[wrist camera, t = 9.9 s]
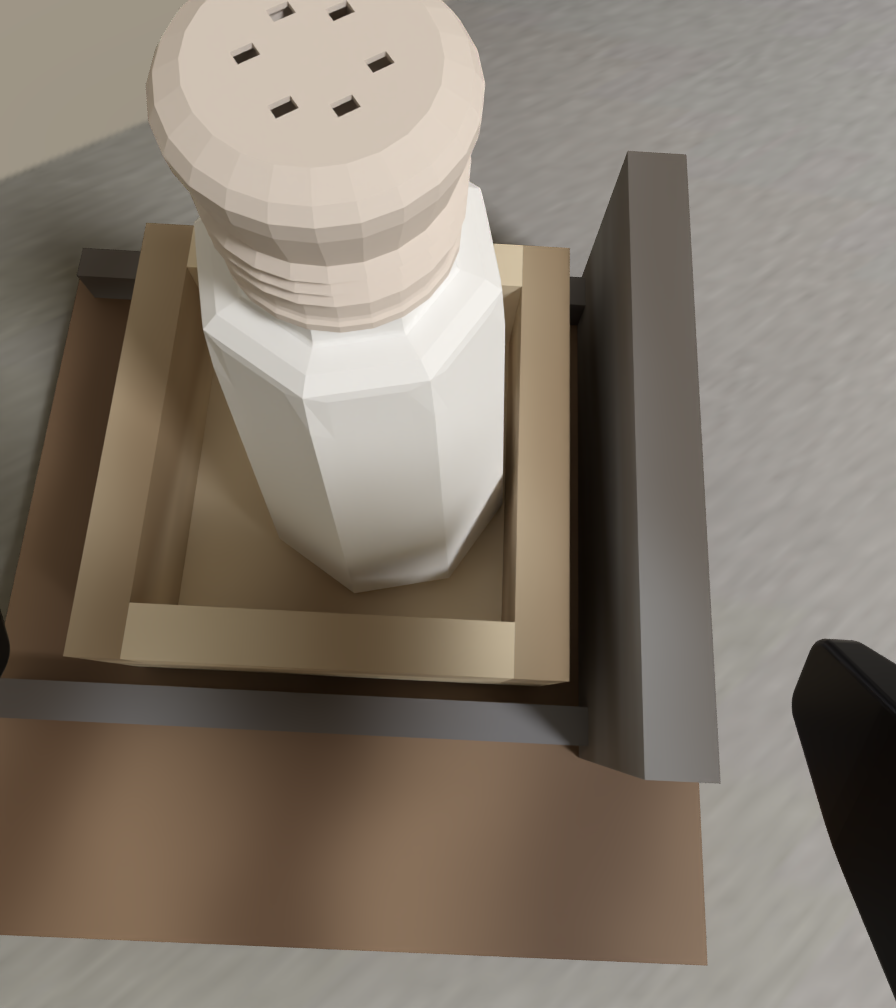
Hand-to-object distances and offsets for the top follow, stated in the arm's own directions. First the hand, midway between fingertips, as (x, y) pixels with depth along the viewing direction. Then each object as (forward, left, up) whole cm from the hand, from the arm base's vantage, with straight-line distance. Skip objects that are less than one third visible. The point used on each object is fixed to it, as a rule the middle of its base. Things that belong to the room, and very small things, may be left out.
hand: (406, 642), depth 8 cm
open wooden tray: (+2, -1, -10) cm, 10 cm away
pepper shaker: (+3, -3, -8) cm, 9 cm away
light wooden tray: (+4, -3, -9) cm, 10 cm away
